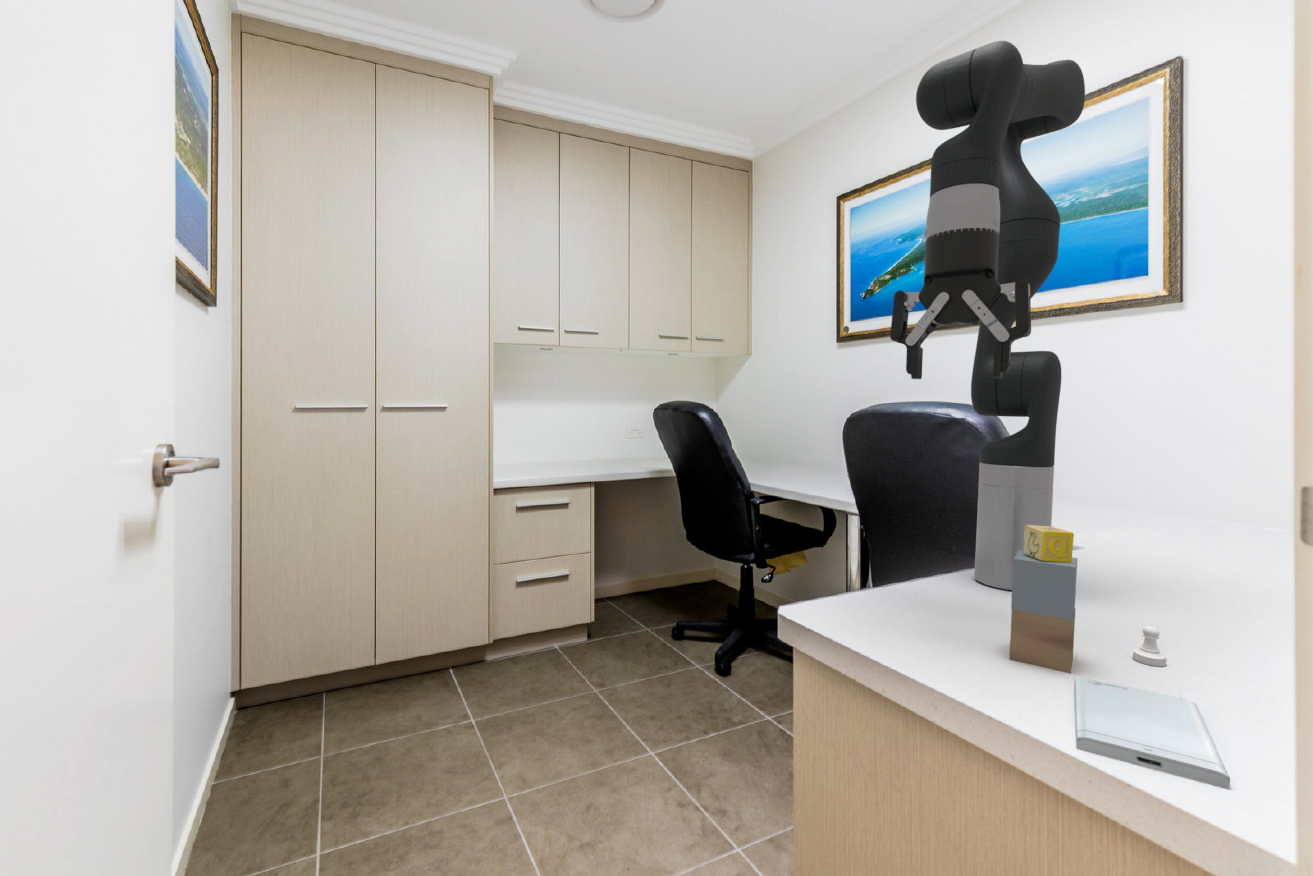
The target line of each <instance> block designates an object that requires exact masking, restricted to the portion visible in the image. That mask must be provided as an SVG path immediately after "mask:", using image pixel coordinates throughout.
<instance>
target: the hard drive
mask: <svg viewBox="0 0 1313 876" xmlns="http://www.w3.org/2000/svg"><path fill="white" fill-rule="evenodd" d="M1073 686H1074V687H1073V693H1074V694H1073V696H1074V698H1073V699H1074V719H1075V720H1074V723H1075V747H1076V749H1078V750H1082V751H1085V752H1089V753H1092V754H1096V755H1100V756H1103V757H1108V758H1112V759H1115V760H1119V761H1124V762H1127V763H1129V764H1135V765H1138V766H1142V767H1146V768H1148V769H1149V768H1150V769H1152V770H1156V771H1160V772H1163V773H1168V774H1171V775H1176V776H1179V777H1182V778H1183V777H1184V778H1185V779H1190V780H1195V781H1197V782H1200V783H1201V782H1202V783H1205V784H1209V785H1213V786H1216V787H1217V786H1218V787H1220V788H1223V789H1227V790H1230V785H1231V784H1230V783H1231V777H1230V775H1229V773H1228V771H1227V769H1226V767H1225V766H1226V765H1225V763H1224V762H1223V759H1222V758H1221V756H1220V753H1219V751H1218V749H1217V747H1216V744H1215V743H1214V740H1213V737H1212V736H1211V734H1210V731H1209V729H1208V727H1207V725H1206V722H1205V719H1204V717H1203V715H1202V714H1201V712H1200V710H1199V707H1198V705H1197V703H1196V702H1195V701H1192V700H1191V699H1188V698H1183V697H1177V696H1175V695H1174V696H1173V695H1169V694H1165V693H1160V692H1155V691H1149V690H1146V689H1141V688H1137V687H1136V688H1135V687H1131V686H1126V685H1122V684H1121V685H1120V684H1115V683H1112V682H1108V681H1103V680H1098V679H1093V678H1090V677H1084V676H1078V677H1077V676H1076V677H1074V682H1073Z"/></svg>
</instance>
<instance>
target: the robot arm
mask: <svg viewBox="0 0 1313 876" xmlns="http://www.w3.org/2000/svg"><path fill="white" fill-rule="evenodd" d="M1085 85H1086V84H1085V78H1084V74H1083V71H1082V69H1081V67H1080V65H1079V64H1078V63H1077V62H1076V61H1074V60H1072V59H1062V60H1056V61H1051V62H1049V63H1047V64H1031V63H1030V64H1029V63H1028V64H1027V63H1024V61H1023V57H1022V55H1021V52H1020V51H1019V49H1018V47H1016V46H1015V45H1014V44H1013V43H1011V42H1010V41H1008V40H1007V41H1006V40H997V41H993V42H990V43H987V44H984V45H982V46H979V47H977V48H974V49H972V50H969V51H966V52H964V53H961V54H958V55H956V56H953V57H950V58H947V59H944V60H943V61H939V62H938V63H936V64H934V65H933V66H931V67H930V68H929V69H928V70H926V72H925V73H924V74H923V76H922V77H921V79H920V81H919V83H918V86H917V89H916V94H915V102H916V103H915V104H916V105H915V106H916V109H917V112H918V114H919V116H920V118H921V120H922V121H923V122H924V123H925V124H926V125H927V126H928V127H930V128H931V129H932V128H933V129H935V130H938V131H946V130H953V129H957V128H962V127H966V128H965V129H964V130H962V131H960V132H959V133H958V134H956V135H954V136H953V137H951V138H948V139H947V140H945V141H944V142H942V143H940V145H938V146H937V148H936V149H935V150H934V152H933V154H932V157H931V162H930V165H931V166H930V185H929V186H930V187H929V202H928V203H929V204H928V209H927V215H926V222H925V229H924V238H925V248H924V250H925V251H924V273H923V285H922V287H921V289H920V291H914V292H913V291H911V292H910V291H907V292H906V291H903V290H897V291H896V292H895V293H894V296H893V306H892V314H891V315H892V316H891V323H890V325H891V326H890V332H889V338H890V340H891V341H893V342H896V343H897V344H901V345H904V346H905V347H906V359H905V360H906V362H905V363H906V364H905V371H906V373H907V374H908V375H910V378H911V379H912V380H921V379H922V376H923V357H924V356H923V355H924V348H923V347H921V346H922V344H923V343H924V342H925V340H926V339H927V338H928V337H929V335H930V334H932V333H933V332H934V331H935V330H936V328H937V327H938V326H943V327H954V326H955V327H956V326H958V325H963V326H975V324H977V323H979V328H978V333H977V334H978V335H977V341H976V347H975V354H974V359H973V366H972V374H971V381H970V382H971V383H970V397H971V398H970V399H971V404H972V409H973V410H974V412H975V413H977V414H978V415H980V416H985V417H1008V418H1009V417H1014V418H1015V417H1018V418H1019V417H1020V418H1021V417H1022V418H1023V417H1024V418H1028V421H1027V424H1026V425H1025V426H1024V427H1023V428H1022V429H1020V430H1019V431H1017V432H1015V433H1013V434H1011V435H1007V436H1005V437H1002V438H998V439H993V440H991V441H987V442H984V443H982V445H980V446H981V447H980V450H979V469H978V492H977V494H978V495H977V513H976V515H977V516H976V517H977V518H976V536H975V537H976V539H975V551H974V552H975V555H974V556H975V557H974V558H975V559H974V575H973V577H975V578H974V580H975V579H976V580H977V582H978V581H979V583H980V582H982V583H981V584H983V583H984V584H983V585H986V586H989V587H994V588H997V589H1002V590H1009V591H1012V583H1013V563H1014V558H1015V556H1016V555H1017V553H1018V552H1019V550H1020V551H1023V540H1024V527H1025V525H1035V526H1052V519H1053V516H1052V515H1053V501H1054V500H1053V499H1054V475H1055V454H1056V452H1055V451H1056V437H1057V422H1058V414H1059V405H1060V395H1061V387H1062V364H1061V361H1060V359H1059V356H1058V355H1057V354H1056V353H1055V352H1053V351H1050V350H1049V351H1048V350H1032V351H1031V350H1030V351H1012V344H1013V343H1014V342H1015V341H1017V340H1019V339H1022V338H1027V337H1029V336H1030V335H1031V334H1032V311H1031V310H1032V308H1031V307H1032V306H1031V302H1032V301H1031V299H1032V298H1033V297H1034V296H1035V295H1036V293H1037V292H1038V291H1039V289H1040V288H1041V287H1042V286H1043V285H1044V283H1045V282H1046V280H1048V278H1049V277H1050V275H1051V273H1052V271H1053V270H1054V268H1055V266H1056V264H1057V261H1058V258H1059V257H1058V255H1059V244H1060V243H1059V242H1060V230H1061V215H1060V212H1059V209H1058V207H1057V205H1056V203H1055V202H1054V201H1053V199H1052V198H1051V197H1050V195H1049V193H1047V192H1046V191H1045V189H1044V188H1043V187H1042V186H1041V185H1040V183H1039V182H1037V180H1036V179H1035V178H1034V176H1033V175H1032V173H1030V170H1029V169H1028V168H1027V166H1026V164H1025V163H1024V161H1023V158H1022V152H1021V151H1022V150H1021V147H1022V143H1023V142H1024V141H1026V140H1029V139H1033V138H1037V137H1040V136H1045V135H1048V134H1051V133H1055V132H1058V131H1061V130H1063V129H1066V128H1069V127H1070V126H1072V125H1073V124H1075V123H1076V122H1077V121H1078V120H1079V118H1080V117H1081V115H1082V112H1083V111H1084V106H1085V100H1086V99H1085V98H1086V86H1085ZM917 303H920V304H921V305H922V306H923V307H924V309H925V310H926V311H925V312H924V314H923V315H922V316H921V318H919V319H918V321H917V322H916V325H915V327H914V328H913V329H912V331H911V332H910V333H909V334H908V333H907V332H908V331H907V330H908V323H909V322H908V321H909V312H910V311H913V310H914V308H915V306H916V304H917ZM1014 323H1015V326H1013V325H1014ZM1012 326H1013V327H1012ZM976 580H975V581H976Z"/></svg>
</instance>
